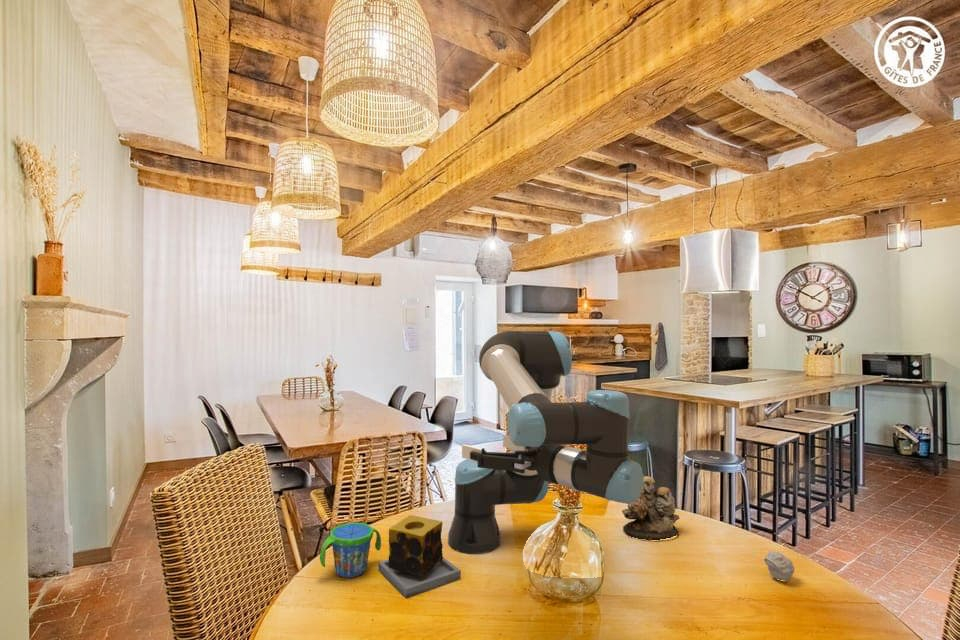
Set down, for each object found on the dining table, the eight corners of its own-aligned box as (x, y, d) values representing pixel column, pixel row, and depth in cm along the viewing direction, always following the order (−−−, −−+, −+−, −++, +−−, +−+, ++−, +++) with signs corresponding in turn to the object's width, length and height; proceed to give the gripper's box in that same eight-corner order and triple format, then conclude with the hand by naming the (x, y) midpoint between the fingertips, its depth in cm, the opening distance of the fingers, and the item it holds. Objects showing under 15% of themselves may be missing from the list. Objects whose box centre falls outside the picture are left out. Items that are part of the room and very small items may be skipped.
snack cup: (373, 554, 129) (373, 517, 129) (388, 572, 120) (389, 531, 120) (313, 570, 120) (314, 529, 120) (325, 590, 111) (326, 546, 112)
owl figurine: (632, 544, 138) (632, 484, 139) (613, 527, 150) (613, 472, 150) (687, 539, 142) (688, 481, 142) (665, 523, 153) (665, 470, 154)
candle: (443, 560, 123) (444, 520, 123) (422, 578, 113) (423, 536, 114) (409, 551, 127) (410, 513, 127) (387, 568, 118) (388, 528, 118)
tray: (429, 554, 130) (429, 547, 130) (460, 578, 117) (460, 570, 118) (378, 570, 121) (378, 562, 121) (405, 598, 109) (406, 589, 109)
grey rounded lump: (757, 575, 122) (758, 548, 122) (780, 572, 123) (780, 545, 123) (777, 588, 116) (778, 559, 116) (801, 585, 117) (801, 556, 117)
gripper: (522, 500, 85) (443, 473, 100) (595, 471, 103) (518, 452, 118) (523, 458, 85) (444, 437, 100) (595, 436, 103) (519, 421, 118)
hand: (484, 445), depth 109 cm, fingers open, 13 cm apart
